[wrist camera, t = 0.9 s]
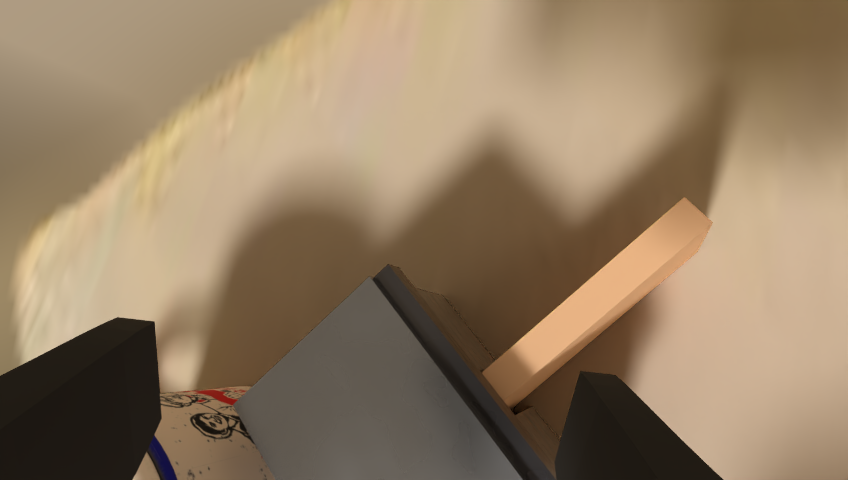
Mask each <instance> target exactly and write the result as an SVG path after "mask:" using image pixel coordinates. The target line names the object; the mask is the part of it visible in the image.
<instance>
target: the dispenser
mask: <svg viewBox="0 0 848 480" xmlns="http://www.w3.org/2000/svg"><path fill="white" fill-rule="evenodd" d="M493 362H495V360H494V359H493V357H492V356H491V355H490V354H489V352H488V351H487V350H486V349H485V347H484V346H483V345H482V344H481V343H480V341H479V340H478V339H477V338H476V336H475V335H474V334H473V333H472V331H471V330H470V329H469V328H468V326H467V325H466V324H465V323H464V321H463V320H462V319H461V318H460V316H459V315H458V314H457V313H456V311H455V310H454V309H453V308H452V306H451V305H450V304H449V303H448V301H447V300H446V299H445V298H444V296H443V295H439V294H435V293H432V292H428V291H424V290H420V289H416V288H415V287H414V286H413V285H412V284H411V282H410V281H409V280H408V279H407V277H406V276H405V275H404V273H403V272H402V271H401V270H400V268H399V267H396V266H392V265H389V264H388V265H387V266H386V267H385V268H384V269H382V270H381V271H380V272H379V273H378V274H377V275H376V276H375V277H370V276H369V277H368V278H367V279H366V280H365V281H364V282H363V283H362V284H361V285H360V286H359V287H358V288H357V289H356V290H354V291H353V292H352V293H351V294H350V295H349V296H348V297H347V298H346V299H345V300H344V301H343V302H342V303H341V304H340V305H338V306H337V307H336V308H335V309H334V310H333V311H332V312H331V313H330V314H329V315H328V316H327V317H326V318H325V319H324V320H323V321H321V322H320V323H319V324H318V325H317V326H316V327H315V328H314V329H313V330H312V331H311V332H310V333H309V334H308V335H307V336H306V337H304V338H303V339H302V340H301V341H300V342H299V343H298V344H297V345H296V346H295V347H294V348H293V349H292V350H291V351H290V352H288V353H287V354H286V355H285V356H284V357H283V358H282V359H281V360H280V361H279V362H278V363H277V364H276V365H275V366H274V367H273V368H271V369H270V370H269V371H268V372H267V373H266V374H265V375H264V376H263V377H262V378H261V379H260V380H259V381H258V382H257V383H256V384H254V385H253V386H252V387H251V388H250V389H249V390H248V391H247V392H246V393H245V394H244V395H243V396H242V397H241V398H240V399H238V400H237V401H236V402H235V403H234V404H233V407H234V408H235V410H236V412H237V414H238V415H239V417H240V419H241V421H242V422H243V424H244V426H245V428H246V429H247V431H248V433H249V435H250V436H251V438H252V440H253V442H254V443H255V445H256V447H257V449H258V450H259V452H260V454H261V455H262V457H263V459H264V461H265V462H266V464H267V466H268V468H269V469H270V471H271V473H272V475H273V476H274V478H275V480H557V479H556V471H555V463H554V461H555V458H556V454H557V451H558V447H559V444H560V441H559V440H558V438H557V437H556V436H555V435H554V433H553V432H552V431H551V430H550V428H549V427H548V426H547V425H546V423H545V422H544V421H543V420H542V418H541V417H540V416H539V415H538V413H537V412H536V411H535V410H534V408H533V407H530V408H528V409H526V410H524V411H522V412H520V413H519V414H517V415H514V413H513V412H512V411H511V410H510V408H509V407H508V406H507V405H506V403H505V402H504V401H503V399H502V398H501V397H500V396H499V394H498V393H497V392H496V391H495V389H494V388H493V387H492V385H491V384H490V383H489V382H488V380H487V379H486V378H485V377H484V375H483V374H482V372H483V371H484V370H485V369H486V368H488V367H489V366H490V365H491V364H492V363H493Z"/></svg>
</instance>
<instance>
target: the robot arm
mask: <svg viewBox="0 0 848 480" xmlns="http://www.w3.org/2000/svg"><path fill="white" fill-rule="evenodd" d="M161 419H162V414H161V401H160V388H159V375H158V362H157V349H156V336H155V322H153V321H145V320H136V319H127V318H119V317H117V318H115V319H113V320H110V321H108V322H106V323H104V324H102V325H99V326H97V327H95V328H93V329H91V330H89V331H87V332H85V333H83V334H81V335H79V336H77V337H75V338H73V339H71V340H69V341H67V342H66V343H64V344H62V345H60V346H58V347H56V348H54V349H52V350H50V351H48V352H46V353H44V354H42V355H40V356H38V357H36V358H34V359H32V360H30V361H28V362H27V363H25V364H23V365H21V366H19V367H17V368H15V369H13V370H11V371H9V372H7V373H5V374H3V375H1V376H0V480H132V479H133V478H134V476H135V475H136V473H137V471H138V468H139V466H140V464H141V462H142V460H143V458H144V456H145V454H146V452H147V450H148V448H149V446H150V443H151V441H152V439H153V437H154V435H155V432H156V430H157V428H158V426H159V423H160V421H161ZM554 463H555V471H556V479H557V480H723V479H722V478H721V477H720V476H719V475H718V474H717V473H716V472H715V471H713V470H712V469H711V468H710V467H709V466H708V465H707V464H706V463H705V462H704V461H703V460H702V459H701V458H700V457H699V456H698V455H697V454H696V453H695V452H694V451H693V450H692V449H691V448H690V447H688V446H687V445H686V444H685V443H684V442H683V441H682V440H681V439H680V438H679V437H678V436H677V435H676V434H675V433H674V432H673V431H672V430H671V429H670V428H669V427H668V426H667V425H666V424H665V423H664V422H663V421H662V420H661V419H660V418H659V417H658V416H657V415H656V414H655V413H654V412H653V411H652V410H651V409H650V408H649V407H648V406H647V405H646V404H645V403H644V402H643V401H642V400H641V399H640V398H639V397H638V396H637V395H636V394H635V393H634V392H633V391H632V390H631V389H630V388H629V387H628V386H627V385H626V384H625V383H624V382H623V381H622V380H620V379H619V378H618V377H617V376H616V375H609V374H601V373H592V372H583V371H580V374H579V378H578V381H577V385H576V388H575V392H574V395H573V399H572V402H571V406H570V409H569V413H568V416H567V420H566V423H565V427H564V430H563V433H562V437H561V440H560V444H559V447H558V451H557V454H556V458H555V461H554Z"/></svg>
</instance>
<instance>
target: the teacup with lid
mask: <svg viewBox="0 0 848 480" xmlns="http://www.w3.org/2000/svg"><path fill="white" fill-rule="evenodd" d="M250 388H251V387H249V386H237V387H226V388H215V389H205V390H194V391H183V392H172V393H162V394H160V401H161V414H162V419H161V421H160V423H159V426H158V428H157V430H156V432H155V435H154V437H153V439H152V441H151V443H150V446H149V448H148V450H147V452H146V454H145V456H144V458H143V460H142V462H141V464H140V466H139V468H138V471H137V473H136V475H135V476H134V478H133V479H132V480H275V478H274V476H273V475H272V473H271V471H270V469H269V468H268V466H267V464H266V462H265V461H264V459H263V457H262V455H261V454H260V452H259V450H258V449H257V447H256V445H255V443H254V442H253V440H252V438H251V436H250V435H249V433H248V431H247V429H246V428H245V426H244V424H243V422H242V421H241V419H240V417H239V415H238V414H237V412H236V410H235V408H234V407H233V404H234V403H235V402H236V401H237V400H238V399H240V398H241V397H242V396H243V395H244V394H245V393H246V392H247V391H248V390H249V389H250Z"/></svg>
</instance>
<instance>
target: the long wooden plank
mask: <svg viewBox="0 0 848 480" xmlns="http://www.w3.org/2000/svg"><path fill="white" fill-rule="evenodd" d="M712 223H713V222H712V221H711V220H709V219H708V218H707V217H706V216H705V215H704V214H703V213H702V212H701V211H700V210H698V209H697V208H696V207H695V206H694V205H693V204H692V203H691V202H690V201H689V200H688V199H686V198H685V197H684V198H682V199H681V200H680V201H679V202H678V203H677V204H676V205H674V206H673V207H672V208H671V209H670V210H669V211H667V212H666V213H665V214H664V215H663V216H662V217H661V218H659V219H658V220H657V221H656V222H655V223H654V224H652V225H651V226H650V227H649V228H648V229H647V230H646V231H644V232H643V233H642V234H641V235H640V236H639V237H638V238H636V239H635V240H634V241H633V242H632V243H631V244H629V245H628V246H627V247H626V248H625V249H624V250H623V251H621V252H620V253H619V254H618V255H617V256H616V257H614V258H613V259H612V260H611V261H610V262H609V263H608V264H606V265H605V266H604V267H603V268H602V269H601V270H599V271H598V272H597V273H596V274H595V275H594V276H593V277H591V278H590V279H589V280H588V281H587V282H586V283H584V284H583V285H582V286H581V287H580V288H579V289H578V290H576V291H575V292H574V293H573V294H572V295H571V296H569V297H568V298H567V299H566V300H565V301H564V302H563V303H561V304H560V305H559V306H558V307H557V308H556V309H555V310H553V311H552V312H551V313H550V314H549V315H548V316H546V317H545V318H544V319H543V320H542V321H541V322H540V323H538V324H537V325H536V326H535V327H534V328H533V329H531V330H530V331H529V332H528V333H527V334H526V335H525V336H523V337H522V338H521V339H520V340H519V341H518V342H516V343H515V344H514V345H513V346H512V347H511V348H510V349H508V350H507V351H506V352H505V353H504V354H503V355H501V356H500V357H499V358H498V359H497V360H496V361H495V362H493V363H492V364H491V365H490V366H489V367H488V368H486V369H485V370H484V371H483V372H482V374H483V375H484V377H485V378H486V379H487V380H488V382H489V383H490V384H491V385H492V387H493V388H494V389H495V391H496V392H497V393H498V394H499V396H500V397H501V398H502V399H503V401H504V402H505V403H506V405H507V406H508V407H509V408H510V410H511V409H512V408H513V407H514V406H516V405H517V404H518V403H519V402H520V401H522V400H523V399H524V398H525V397H526V396H527V395H529V394H530V393H531V392H532V391H533V390H535V389H536V388H537V387H538V386H539V385H540V384H542V383H543V382H544V381H545V380H546V379H548V378H549V377H550V376H551V375H552V374H553V373H555V372H556V371H557V370H558V369H559V368H561V367H562V366H563V365H564V364H565V363H566V362H568V361H569V360H570V359H571V358H572V357H574V356H575V355H576V354H577V353H578V352H579V351H581V350H582V349H583V348H584V347H585V346H587V345H588V344H589V343H590V342H591V341H593V340H594V339H595V338H596V337H597V336H598V335H600V334H601V333H602V332H603V331H604V330H606V329H607V328H608V327H609V326H610V325H611V324H613V323H614V322H615V321H616V320H617V319H619V318H620V317H621V316H622V315H623V314H624V313H626V312H627V311H628V310H629V309H630V308H632V307H633V306H634V305H635V304H636V303H637V302H639V301H640V300H641V299H642V298H643V297H645V296H646V295H647V294H648V293H649V292H650V291H652V290H653V289H654V288H655V287H656V286H658V285H659V284H660V283H661V282H662V281H663V280H665V279H666V278H667V277H668V276H669V275H671V274H672V273H673V272H674V271H675V270H676V269H678V268H679V267H680V266H681V265H682V264H684V263H685V262H686V261H687V260H688V259H690V258H691V257H692V256H693V255H694V254H695V253H697V252H698V250H699V248H700V246H701V244H702V242H703V241H704V239H705V237H706V235H707V233H708V231H709V229H710V227H711V225H712Z"/></svg>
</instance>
